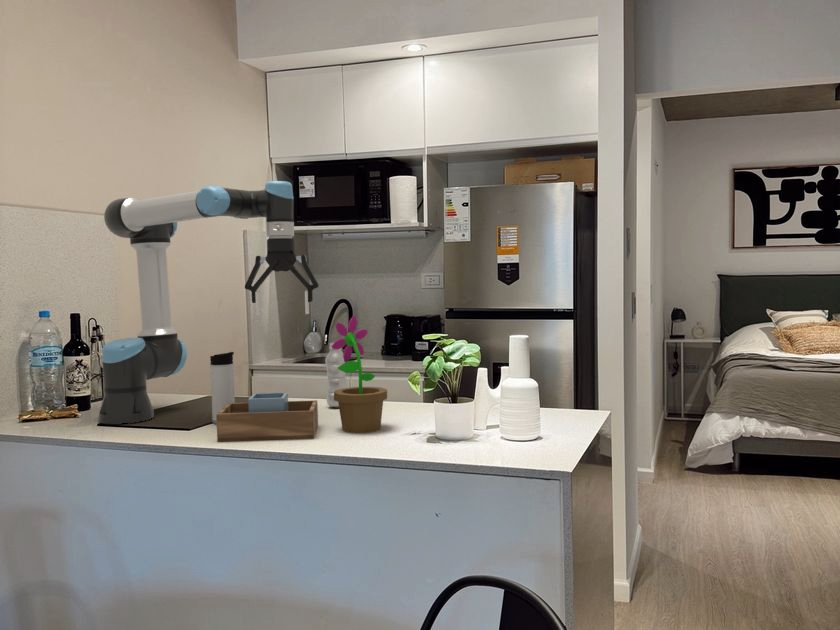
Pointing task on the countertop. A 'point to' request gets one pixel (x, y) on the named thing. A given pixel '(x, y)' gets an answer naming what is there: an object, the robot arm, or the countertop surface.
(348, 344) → the flowerpot
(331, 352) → the plastic bottle
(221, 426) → the walnut crate
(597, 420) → the countertop surface
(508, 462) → the countertop surface
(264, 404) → the slate crate
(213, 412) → the travel mug
